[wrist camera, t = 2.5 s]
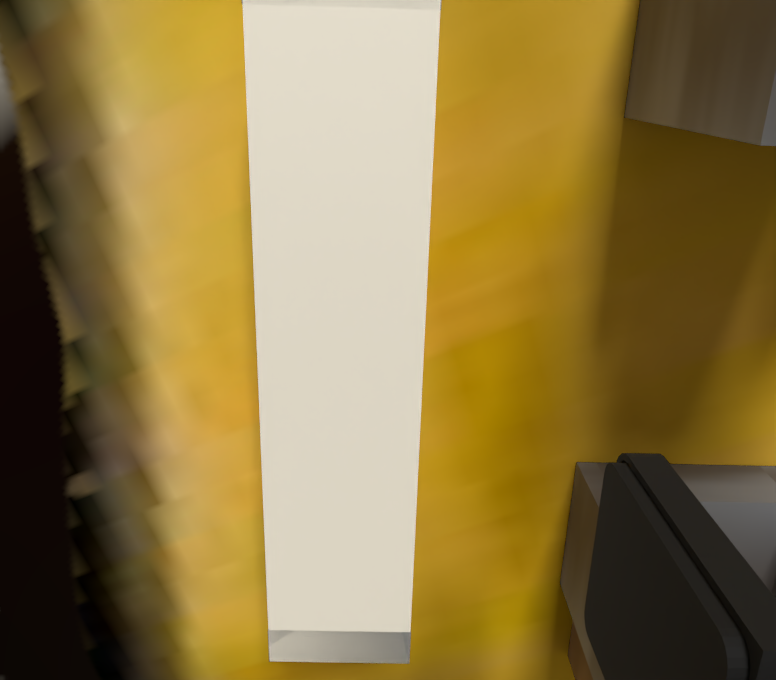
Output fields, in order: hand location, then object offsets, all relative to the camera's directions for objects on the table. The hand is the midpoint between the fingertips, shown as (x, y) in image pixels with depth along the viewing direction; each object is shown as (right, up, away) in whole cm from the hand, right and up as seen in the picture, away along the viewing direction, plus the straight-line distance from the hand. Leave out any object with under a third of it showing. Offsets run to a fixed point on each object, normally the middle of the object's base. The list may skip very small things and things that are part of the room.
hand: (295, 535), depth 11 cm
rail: (0, +4, +9) cm, 10 cm away
